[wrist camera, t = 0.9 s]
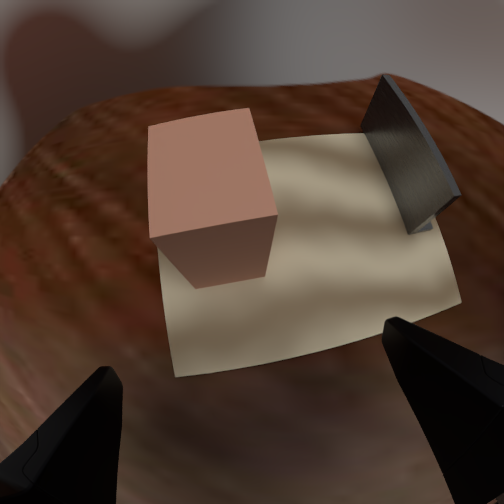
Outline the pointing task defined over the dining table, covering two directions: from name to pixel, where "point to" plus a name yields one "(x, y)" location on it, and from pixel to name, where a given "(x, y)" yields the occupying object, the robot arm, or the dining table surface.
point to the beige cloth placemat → (313, 266)
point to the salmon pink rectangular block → (211, 197)
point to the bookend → (408, 158)
